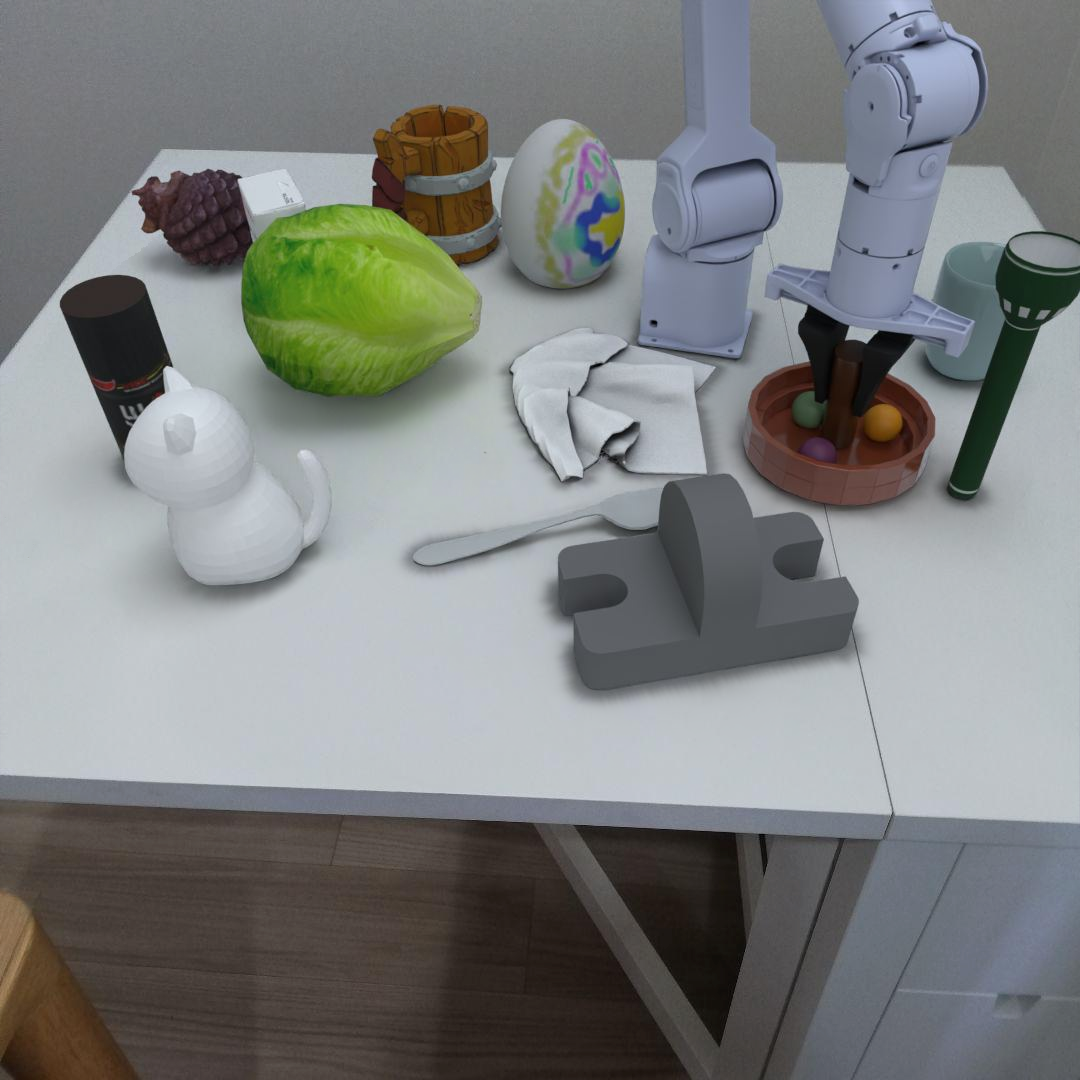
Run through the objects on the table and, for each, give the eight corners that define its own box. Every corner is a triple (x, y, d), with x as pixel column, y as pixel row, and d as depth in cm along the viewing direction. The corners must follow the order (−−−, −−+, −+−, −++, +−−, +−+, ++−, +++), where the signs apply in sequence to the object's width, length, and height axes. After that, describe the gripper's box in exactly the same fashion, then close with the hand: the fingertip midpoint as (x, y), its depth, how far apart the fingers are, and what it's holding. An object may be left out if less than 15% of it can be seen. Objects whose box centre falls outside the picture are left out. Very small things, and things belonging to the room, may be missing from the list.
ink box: (262, 288, 99) (234, 175, 91) (310, 278, 101) (286, 165, 92) (279, 329, 94) (251, 212, 85) (330, 318, 95) (307, 201, 87)
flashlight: (1007, 488, 75) (1105, 245, 61) (980, 523, 72) (1077, 278, 58) (943, 461, 77) (1023, 222, 63) (915, 495, 74) (992, 253, 60)
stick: (814, 441, 78) (828, 354, 71) (830, 421, 79) (845, 334, 72) (844, 454, 77) (861, 367, 70) (859, 434, 78) (878, 347, 71)
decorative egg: (571, 313, 94) (570, 160, 84) (479, 274, 100) (468, 126, 90) (646, 264, 101) (654, 116, 90) (555, 230, 107) (553, 87, 96)
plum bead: (785, 472, 75) (795, 439, 73) (802, 457, 77) (813, 425, 75) (820, 489, 74) (831, 456, 72) (836, 473, 76) (848, 441, 74)
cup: (1013, 397, 83) (1053, 291, 76) (917, 388, 84) (948, 284, 77) (1001, 346, 88) (1037, 244, 81) (911, 339, 90) (940, 237, 83)
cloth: (571, 318, 94) (570, 295, 92) (780, 391, 84) (785, 368, 83) (434, 427, 82) (431, 403, 80) (660, 526, 73) (662, 502, 71)
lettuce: (469, 450, 83) (471, 306, 72) (232, 430, 83) (196, 282, 71) (485, 326, 94) (490, 182, 82) (275, 307, 93) (250, 160, 82)
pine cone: (304, 217, 110) (314, 159, 101) (305, 294, 108) (316, 242, 99) (135, 196, 105) (130, 133, 96) (132, 278, 102) (126, 220, 93)
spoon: (692, 527, 72) (694, 510, 71) (417, 579, 69) (415, 563, 68) (674, 491, 75) (675, 475, 74) (409, 540, 72) (406, 524, 71)
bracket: (853, 646, 64) (890, 526, 56) (585, 692, 62) (586, 574, 54) (799, 546, 71) (825, 427, 63) (555, 584, 69) (552, 466, 61)
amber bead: (862, 433, 76) (855, 404, 78) (871, 453, 78) (864, 424, 80) (901, 421, 75) (893, 391, 77) (909, 442, 77) (901, 413, 79)
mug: (521, 233, 106) (515, 90, 96) (430, 301, 97) (412, 150, 86) (442, 211, 111) (427, 72, 100) (347, 274, 101) (320, 127, 91)
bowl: (730, 492, 75) (736, 452, 72) (756, 389, 85) (762, 350, 82) (920, 525, 72) (933, 484, 69) (924, 414, 81) (937, 374, 79)
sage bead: (778, 414, 80) (793, 399, 77) (801, 394, 81) (817, 378, 78) (803, 441, 80) (819, 426, 77) (827, 420, 81) (843, 405, 78)
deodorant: (135, 491, 77) (66, 326, 67) (121, 450, 81) (53, 287, 70) (209, 467, 79) (153, 303, 68) (192, 428, 83) (137, 267, 72)
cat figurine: (170, 532, 74) (103, 364, 63) (336, 499, 76) (297, 332, 65) (170, 618, 67) (95, 448, 57) (351, 580, 69) (311, 409, 59)
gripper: (1010, 242, 65) (954, 408, 74) (806, 190, 71) (779, 349, 80) (974, 287, 61) (920, 457, 70) (762, 228, 67) (739, 391, 76)
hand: (842, 403), depth 75 cm, fingers closed on stick, 2 cm apart
